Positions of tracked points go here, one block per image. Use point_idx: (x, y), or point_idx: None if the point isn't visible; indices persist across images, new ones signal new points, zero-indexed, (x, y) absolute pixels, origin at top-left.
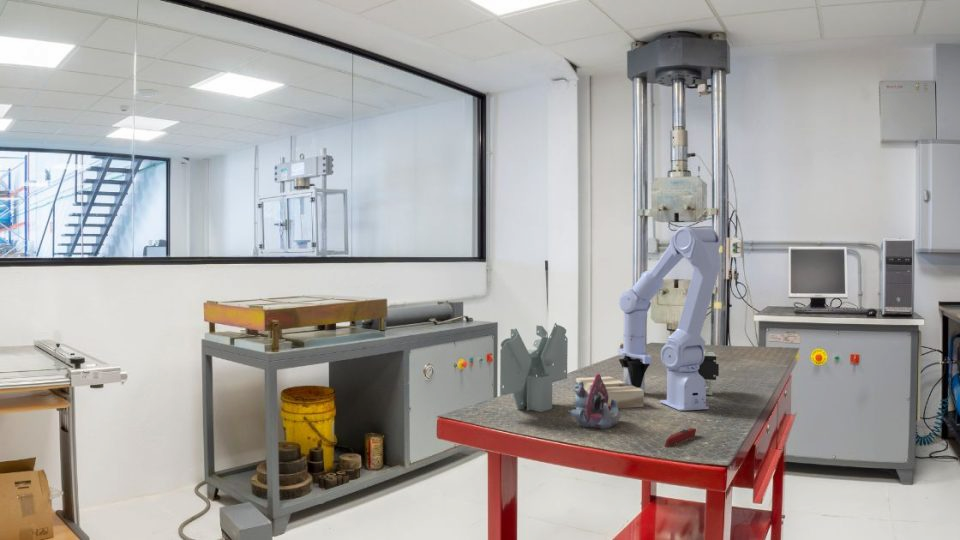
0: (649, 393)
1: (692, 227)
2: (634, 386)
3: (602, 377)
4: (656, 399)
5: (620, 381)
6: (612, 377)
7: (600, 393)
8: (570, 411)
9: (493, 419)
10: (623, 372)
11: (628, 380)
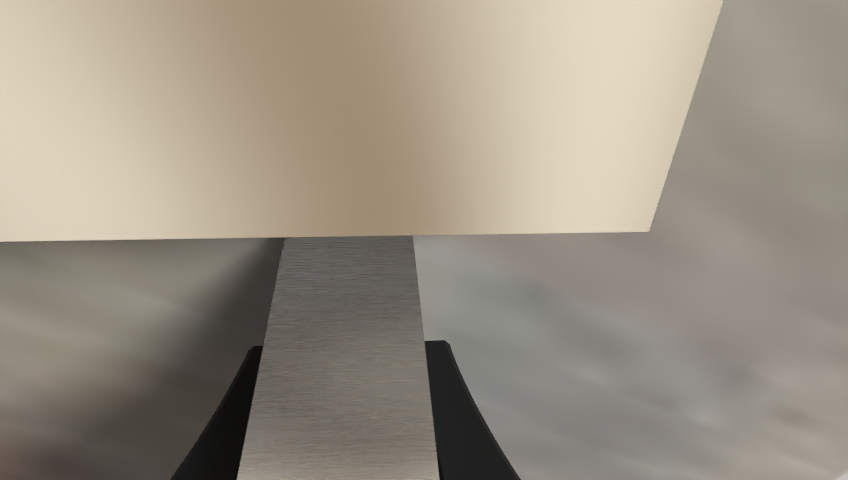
0: None
1: None
2: (245, 365)
3: (631, 7)
4: (34, 389)
5: (75, 206)
6: (534, 228)
7: None
8: None
9: None
10: (435, 461)
11: (262, 376)
